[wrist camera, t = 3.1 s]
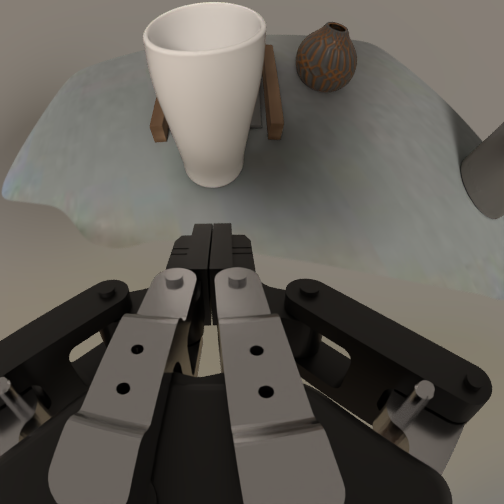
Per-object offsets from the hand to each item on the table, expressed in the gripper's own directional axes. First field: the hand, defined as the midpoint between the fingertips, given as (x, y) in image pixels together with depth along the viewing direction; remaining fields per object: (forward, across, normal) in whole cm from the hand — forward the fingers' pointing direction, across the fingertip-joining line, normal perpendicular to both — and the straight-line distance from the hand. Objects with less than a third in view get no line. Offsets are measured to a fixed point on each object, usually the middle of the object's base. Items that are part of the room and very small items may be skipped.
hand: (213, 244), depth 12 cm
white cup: (+16, +1, 0) cm, 16 cm away
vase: (+25, -12, -9) cm, 29 cm away
